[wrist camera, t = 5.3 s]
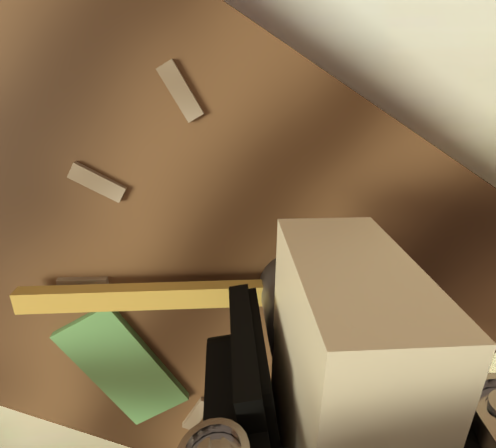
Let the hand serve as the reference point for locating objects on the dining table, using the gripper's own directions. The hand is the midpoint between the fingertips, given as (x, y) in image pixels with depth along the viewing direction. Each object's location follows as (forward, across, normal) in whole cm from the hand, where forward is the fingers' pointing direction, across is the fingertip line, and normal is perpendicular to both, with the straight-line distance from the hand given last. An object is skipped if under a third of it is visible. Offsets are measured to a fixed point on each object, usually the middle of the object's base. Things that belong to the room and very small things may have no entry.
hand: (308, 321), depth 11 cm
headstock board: (+5, +3, 0) cm, 6 cm away
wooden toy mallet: (+2, +4, 0) cm, 4 cm away
